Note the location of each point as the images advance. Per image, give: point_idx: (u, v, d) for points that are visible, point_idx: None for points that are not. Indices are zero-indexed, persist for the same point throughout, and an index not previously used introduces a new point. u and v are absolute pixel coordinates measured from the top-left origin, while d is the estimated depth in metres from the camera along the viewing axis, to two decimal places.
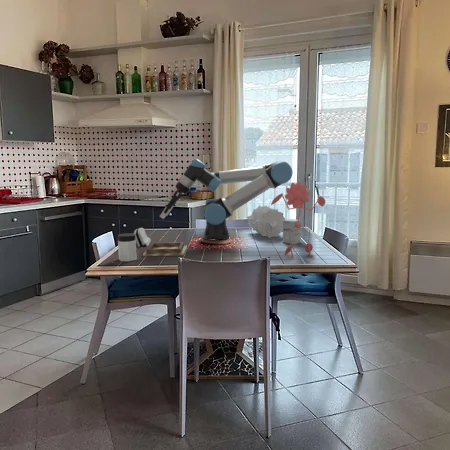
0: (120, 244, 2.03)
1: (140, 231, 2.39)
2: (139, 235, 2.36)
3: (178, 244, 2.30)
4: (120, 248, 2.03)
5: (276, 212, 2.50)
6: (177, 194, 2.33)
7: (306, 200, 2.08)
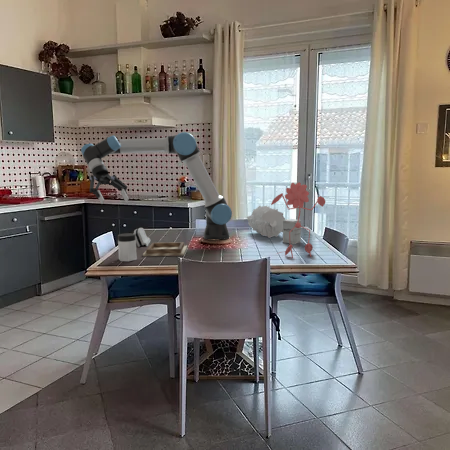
0: (120, 244, 2.03)
1: (140, 231, 2.39)
2: (139, 235, 2.36)
3: (178, 244, 2.30)
4: (120, 248, 2.03)
5: (276, 212, 2.50)
6: (90, 178, 2.14)
7: (306, 200, 2.08)
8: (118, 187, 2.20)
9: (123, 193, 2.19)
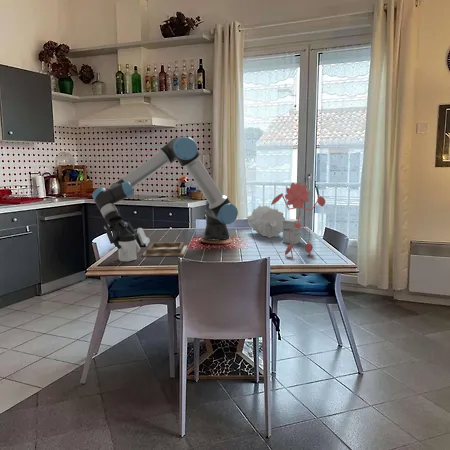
0: (120, 244, 2.02)
1: (139, 231, 2.38)
2: None
3: (178, 244, 2.30)
4: (120, 248, 2.03)
5: (276, 212, 2.50)
6: (105, 227, 2.06)
7: (306, 200, 2.08)
8: None
9: None
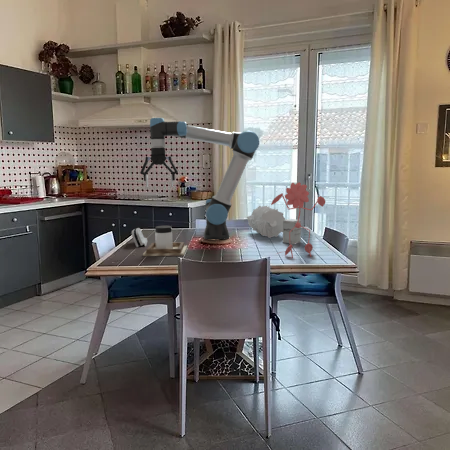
0: (158, 235, 2.17)
1: (138, 231, 2.38)
2: (137, 235, 2.35)
3: (178, 244, 2.30)
4: (158, 239, 2.18)
5: (276, 212, 2.50)
6: None
7: (306, 200, 2.08)
8: (169, 170, 2.36)
9: (171, 178, 2.37)
